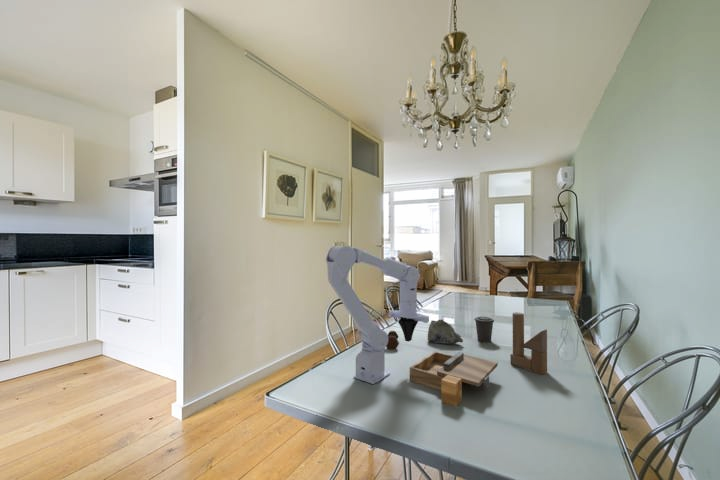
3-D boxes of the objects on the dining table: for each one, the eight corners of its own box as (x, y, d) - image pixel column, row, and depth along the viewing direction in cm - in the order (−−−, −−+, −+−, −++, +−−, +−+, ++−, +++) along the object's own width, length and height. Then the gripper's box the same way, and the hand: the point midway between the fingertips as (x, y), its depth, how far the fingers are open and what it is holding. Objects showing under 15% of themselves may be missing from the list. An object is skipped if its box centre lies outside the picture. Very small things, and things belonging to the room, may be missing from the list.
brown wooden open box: (446, 391, 90) (446, 378, 90) (409, 380, 97) (409, 367, 97) (468, 371, 104) (468, 359, 104) (434, 362, 111) (434, 351, 111)
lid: (481, 394, 83) (481, 377, 83) (437, 381, 91) (436, 365, 91) (500, 372, 97) (500, 357, 97) (460, 362, 105) (460, 348, 105)
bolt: (394, 342, 139) (393, 353, 124) (384, 336, 140) (382, 346, 125) (401, 331, 139) (400, 340, 124) (391, 325, 140) (389, 334, 125)
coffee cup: (470, 339, 137) (470, 316, 137) (483, 336, 141) (483, 314, 141) (484, 344, 130) (484, 320, 130) (498, 341, 133) (498, 318, 133)
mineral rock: (464, 346, 128) (464, 321, 128) (444, 350, 124) (444, 325, 124) (443, 337, 140) (443, 315, 140) (424, 341, 135) (423, 318, 135)
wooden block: (542, 375, 100) (541, 319, 100) (510, 364, 109) (509, 313, 109) (547, 372, 102) (547, 317, 102) (515, 362, 111) (515, 311, 111)
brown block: (455, 406, 82) (455, 383, 82) (441, 402, 84) (441, 379, 84) (461, 400, 85) (461, 378, 85) (447, 396, 87) (447, 374, 87)
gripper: (433, 301, 105) (433, 341, 105) (396, 296, 114) (396, 333, 114) (423, 304, 100) (423, 347, 99) (385, 299, 109) (385, 338, 109)
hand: (408, 340), depth 106 cm, fingers closed
